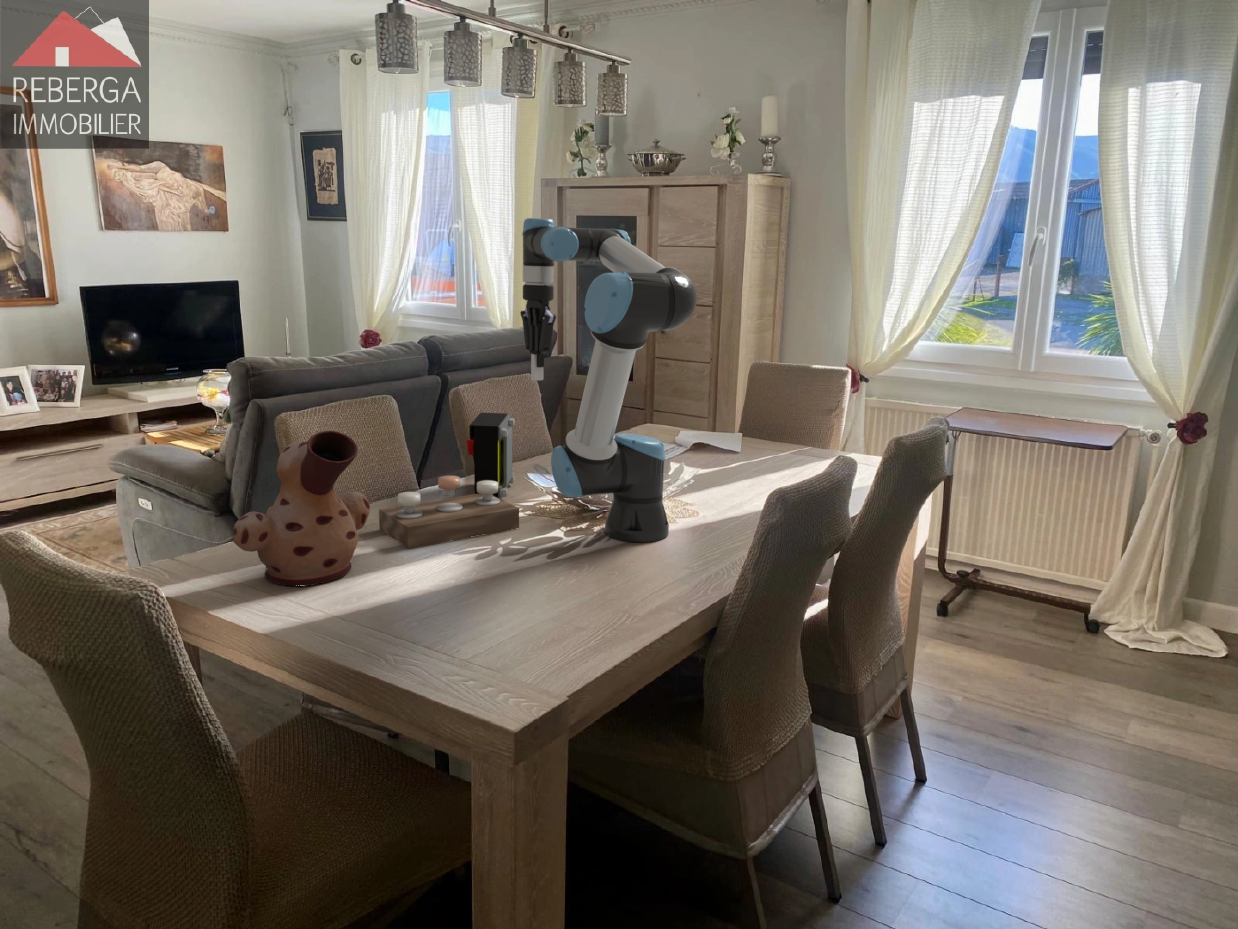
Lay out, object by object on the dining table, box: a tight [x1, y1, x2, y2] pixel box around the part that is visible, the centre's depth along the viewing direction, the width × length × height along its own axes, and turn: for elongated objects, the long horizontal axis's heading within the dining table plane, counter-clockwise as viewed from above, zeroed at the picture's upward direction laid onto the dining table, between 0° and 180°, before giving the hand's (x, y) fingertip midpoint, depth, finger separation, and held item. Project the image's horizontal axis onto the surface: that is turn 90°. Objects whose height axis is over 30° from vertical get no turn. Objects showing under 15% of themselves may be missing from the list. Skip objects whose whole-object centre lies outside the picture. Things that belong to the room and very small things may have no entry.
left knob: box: [397, 491, 421, 513], centre depth 209 cm, size 5×5×4 cm
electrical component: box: [466, 412, 516, 500], centre depth 246 cm, size 18×10×20 cm, turn 179°
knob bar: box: [378, 493, 520, 550], centre depth 216 cm, size 16×28×6 cm, turn 127°
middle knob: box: [437, 475, 461, 497], centre depth 214 cm, size 5×5×4 cm
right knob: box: [477, 480, 498, 501], centre depth 220 cm, size 5×5×4 cm
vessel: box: [232, 430, 371, 587], centre depth 182 cm, size 29×22×30 cm
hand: (537, 379), depth 230 cm, fingers closed
